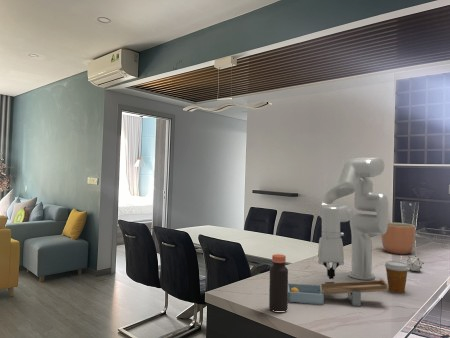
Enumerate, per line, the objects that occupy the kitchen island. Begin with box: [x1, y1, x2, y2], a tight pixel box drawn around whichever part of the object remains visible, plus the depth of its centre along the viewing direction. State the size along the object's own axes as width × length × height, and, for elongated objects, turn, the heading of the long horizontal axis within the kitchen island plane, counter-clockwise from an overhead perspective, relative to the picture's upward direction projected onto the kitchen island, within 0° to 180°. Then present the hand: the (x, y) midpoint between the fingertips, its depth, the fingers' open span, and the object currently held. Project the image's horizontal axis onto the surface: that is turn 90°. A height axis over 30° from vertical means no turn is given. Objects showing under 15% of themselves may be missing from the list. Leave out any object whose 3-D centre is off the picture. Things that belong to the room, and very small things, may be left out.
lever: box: [320, 277, 389, 295], centre depth 139 cm, size 13×24×4 cm, turn 82°
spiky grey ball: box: [406, 255, 425, 273], centre depth 183 cm, size 9×8×10 cm
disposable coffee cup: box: [384, 260, 410, 294], centre depth 151 cm, size 10×10×12 cm
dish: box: [288, 282, 325, 306], centre depth 139 cm, size 12×14×4 cm
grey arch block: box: [347, 291, 362, 307], centre depth 136 cm, size 9×3×6 cm, turn 172°
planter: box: [381, 221, 416, 255], centre depth 231 cm, size 21×21×19 cm
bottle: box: [268, 253, 289, 312], centre depth 127 cm, size 7×7×20 cm
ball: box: [290, 287, 299, 292], centre depth 140 cm, size 4×4×4 cm
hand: (331, 278), depth 146 cm, fingers closed
